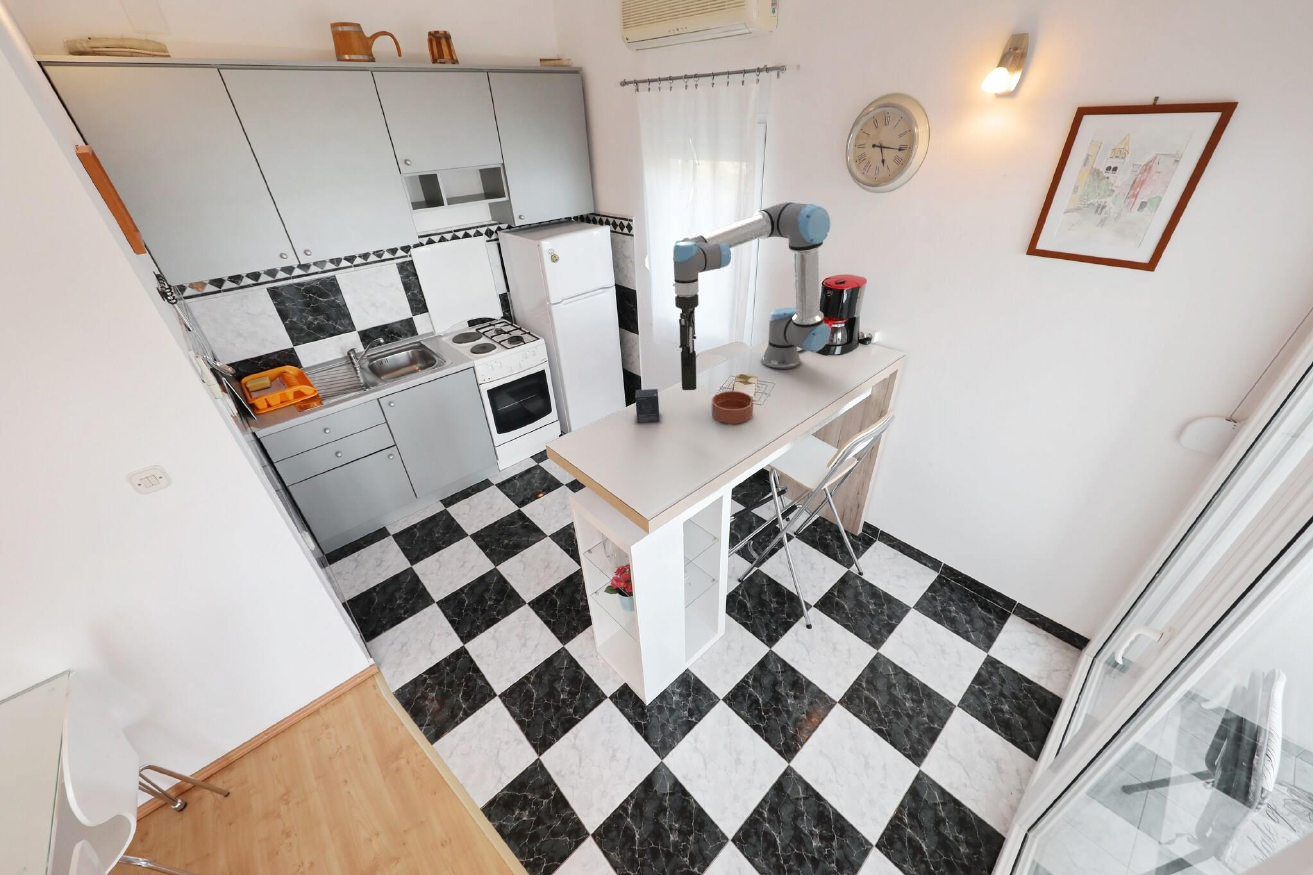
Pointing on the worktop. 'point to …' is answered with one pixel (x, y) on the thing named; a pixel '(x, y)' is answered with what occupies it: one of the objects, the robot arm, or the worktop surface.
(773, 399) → the worktop surface
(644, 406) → the box
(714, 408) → the bowl
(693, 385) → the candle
